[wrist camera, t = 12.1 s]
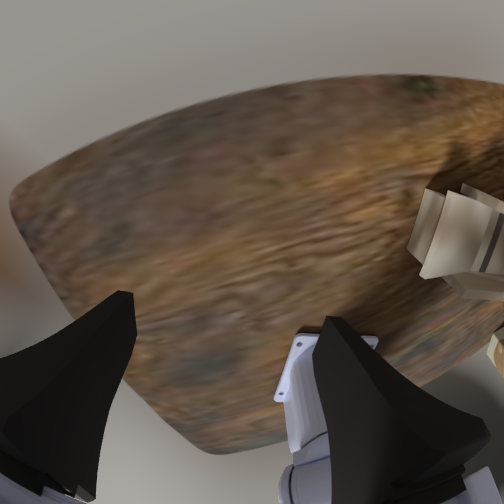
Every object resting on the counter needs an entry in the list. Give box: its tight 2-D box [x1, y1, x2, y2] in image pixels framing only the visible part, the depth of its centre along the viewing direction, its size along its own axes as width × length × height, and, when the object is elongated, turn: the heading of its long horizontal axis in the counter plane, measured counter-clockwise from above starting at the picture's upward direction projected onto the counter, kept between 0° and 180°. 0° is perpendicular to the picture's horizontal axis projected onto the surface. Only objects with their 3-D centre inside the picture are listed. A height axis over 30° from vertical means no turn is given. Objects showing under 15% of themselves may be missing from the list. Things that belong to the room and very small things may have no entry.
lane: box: [407, 183, 504, 300], centre depth 18 cm, size 8×18×4 cm, turn 82°
